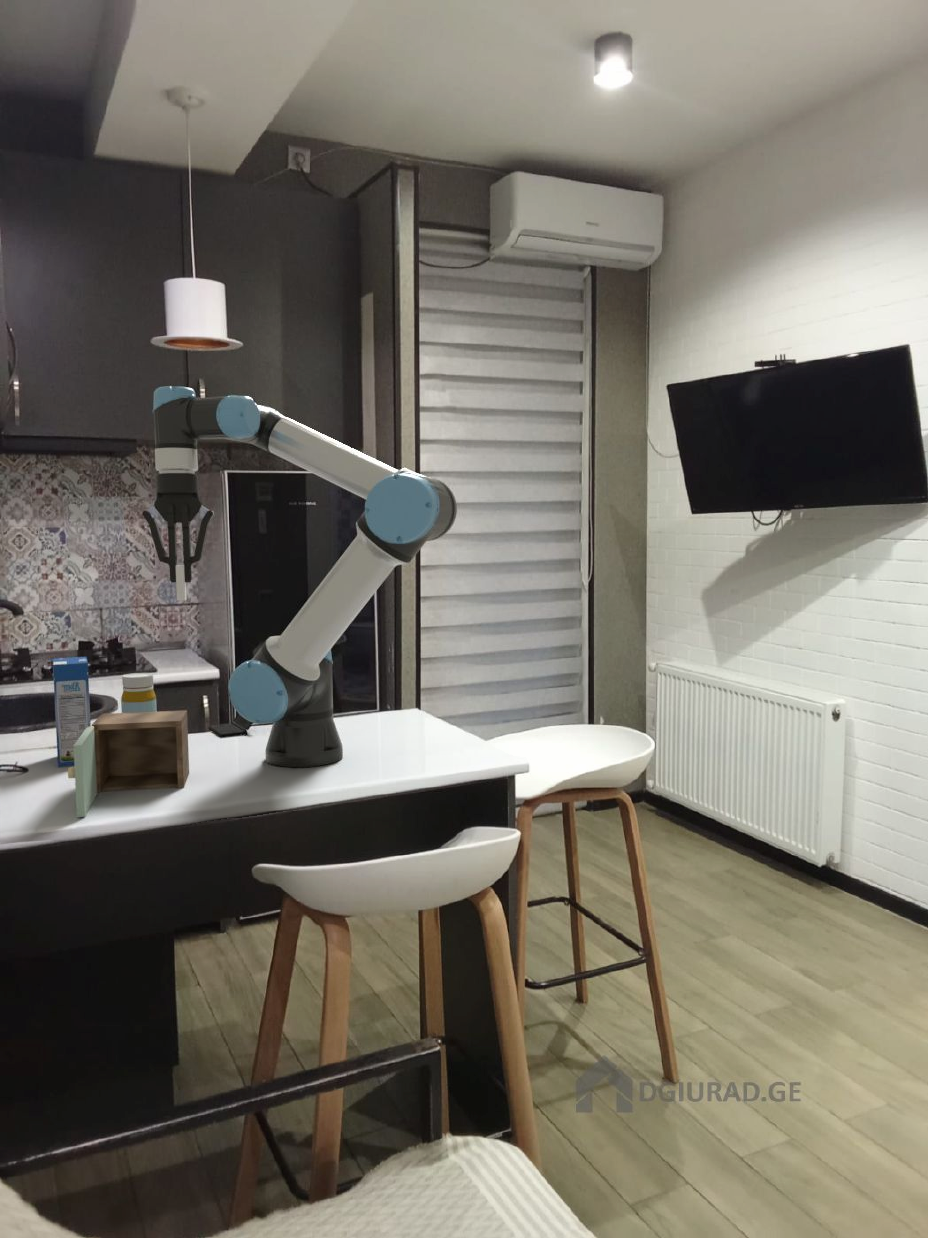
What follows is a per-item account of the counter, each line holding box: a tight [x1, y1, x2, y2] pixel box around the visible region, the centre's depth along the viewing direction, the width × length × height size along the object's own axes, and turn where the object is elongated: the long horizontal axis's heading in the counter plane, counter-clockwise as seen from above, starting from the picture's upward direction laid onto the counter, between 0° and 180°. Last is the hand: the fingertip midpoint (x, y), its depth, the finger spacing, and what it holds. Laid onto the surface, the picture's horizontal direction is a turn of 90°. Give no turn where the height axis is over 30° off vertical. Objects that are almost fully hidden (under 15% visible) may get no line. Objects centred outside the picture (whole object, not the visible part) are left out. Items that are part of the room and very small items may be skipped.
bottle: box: [120, 672, 158, 713], centre depth 203 cm, size 7×7×15 cm
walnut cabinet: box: [91, 709, 190, 793], centre depth 173 cm, size 15×10×12 cm, turn 101°
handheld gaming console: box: [207, 712, 254, 738], centre depth 217 cm, size 12×7×10 cm
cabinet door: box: [67, 725, 98, 818], centre depth 159 cm, size 15×2×12 cm, turn 13°
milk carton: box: [52, 656, 92, 768], centre depth 190 cm, size 10×6×20 cm, turn 23°
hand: (181, 599), depth 179 cm, fingers closed
